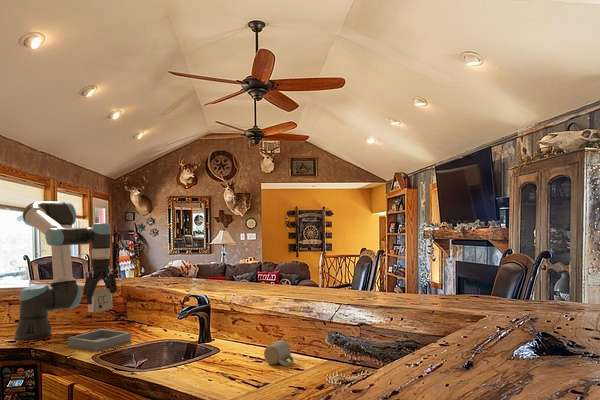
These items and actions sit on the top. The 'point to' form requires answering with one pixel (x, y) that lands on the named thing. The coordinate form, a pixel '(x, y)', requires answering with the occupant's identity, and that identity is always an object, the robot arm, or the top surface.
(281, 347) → the ceramic mug
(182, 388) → the top surface
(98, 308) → the electrical switch
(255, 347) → the top surface
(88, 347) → the parts tray
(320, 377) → the top surface
